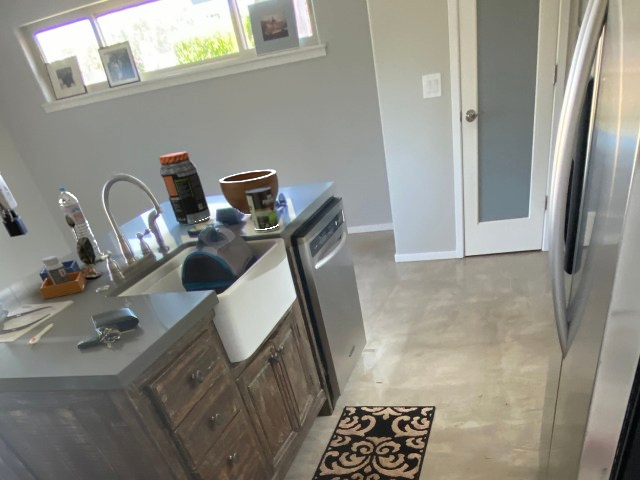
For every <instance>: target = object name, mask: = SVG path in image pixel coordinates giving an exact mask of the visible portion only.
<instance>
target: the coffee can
mask: <svg viewBox="0 0 640 480" xmlns="http://www.w3.org/2000/svg"><path fill="white" fill-rule="evenodd" d="M245 193H246V196H247V200H248V204H249V208H250V212H251V216H250V217H251V219H252V223H253V227H254V232H255V233H256V234H257V233H259V234H261V233H271V232H274V231H277V230H279V229H280V225H279V226H277V227H275V228H272V229H267V230H255V228H256V229H265V228H270V227H273V226H276V225H277V224H278V223H279V218H278V214H277V210H276V204H275V203H274V200H273V195H272V189H271V187H259V188H254V189H250V190H247V191H246V192H245ZM279 224H280V223H279Z"/></svg>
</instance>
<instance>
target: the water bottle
mask: <svg viewBox="0 0 640 480" xmlns="http://www.w3.org/2000/svg"><path fill="white" fill-rule="evenodd" d="M58 190H59V192H60V194H59V195H58V198H57V204H58V207H59V208H60V210H61V212H62V214H63V217H64V219H65V220H66V217H65V216H66V215H69V216H71V217H72V218H73V220H74V222H75V226H74V228H75V231H76V233H77V236H78V239H80V237H87V238H88V239H89V240H90V242H91V244H92V246H93V249H94V252H95V256H96V258H95V263H97V262H100V261H99V257H100V254H102V252H101V250H100V247H99V245H98V243H97V241H96V238H95V236H94V233H93V232H92V230H91V227H90V225H89V223H88V221H87V219H86V216H85V214H84V212H83V210H82V208H81V205H80V203H79V200H78V199H77V197H76V196H74V195H73V194H71V193H70V192H68V191H66V187H64V186H61V187H58ZM68 228H69V230H70V232H71V234H72V237H73V238H74V241H75V243H76V244H77V241H78V239H77V236H76V233H75V231H74V228H73V227H72V229H71V227H70V226H69V225H68Z"/></svg>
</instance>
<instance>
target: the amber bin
mask: <svg viewBox="0 0 640 480" xmlns="http://www.w3.org/2000/svg"><path fill="white" fill-rule="evenodd" d="M82 271H83V270H80V271H79V272H74V273H69V274H68V275H69V277H70V279H71V282H67V283H62V284H57V285H53V283H52V281H51V279H50V277H49V278H45V280H44V281H43V280H42V283H41V284H40V286H39V287H38V289H39V292H40V293H41V295H42V297H43V299H44V300H48V299H52V298H57V297H61V296H67V295H72V294H76V293H81V292H83V291H84V289H85V286H86V284H87V279H86V277H84V275H83V272H82Z"/></svg>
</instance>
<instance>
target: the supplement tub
mask: <svg viewBox="0 0 640 480" xmlns="http://www.w3.org/2000/svg"><path fill="white" fill-rule="evenodd" d="M158 159H159V163H160V165H161V166H160V169H159V174H160V177H161V180H162V182H163V185H164V188H165V191H166V195H167V197H168V200H169V203H170V206H171V208H172V211H173V214H174V217H175V220H176V222H177V223H178V222H179V223H178V224H180V225H183V226H186V225H187V226H188V225H194V224H199V223H202V222H205V221H207V220H209V219H210V218H211V211H210V208H209V205H208V201H207V198H206V195H205V192H204V188H203V184H202V182H201V179H200V175H199V171H198V168H197V166H196V165H195V163H194V162H193V161H192V160H191V158H190V156H189V153H188V151H177V152H173V153H166V154H163V155H160V156H159V157H158ZM209 216H210V217H209ZM207 217H209V218H207ZM205 218H207V219H205ZM202 219H204V220H202ZM199 220H201V221H199ZM195 221H196V222H195Z"/></svg>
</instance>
